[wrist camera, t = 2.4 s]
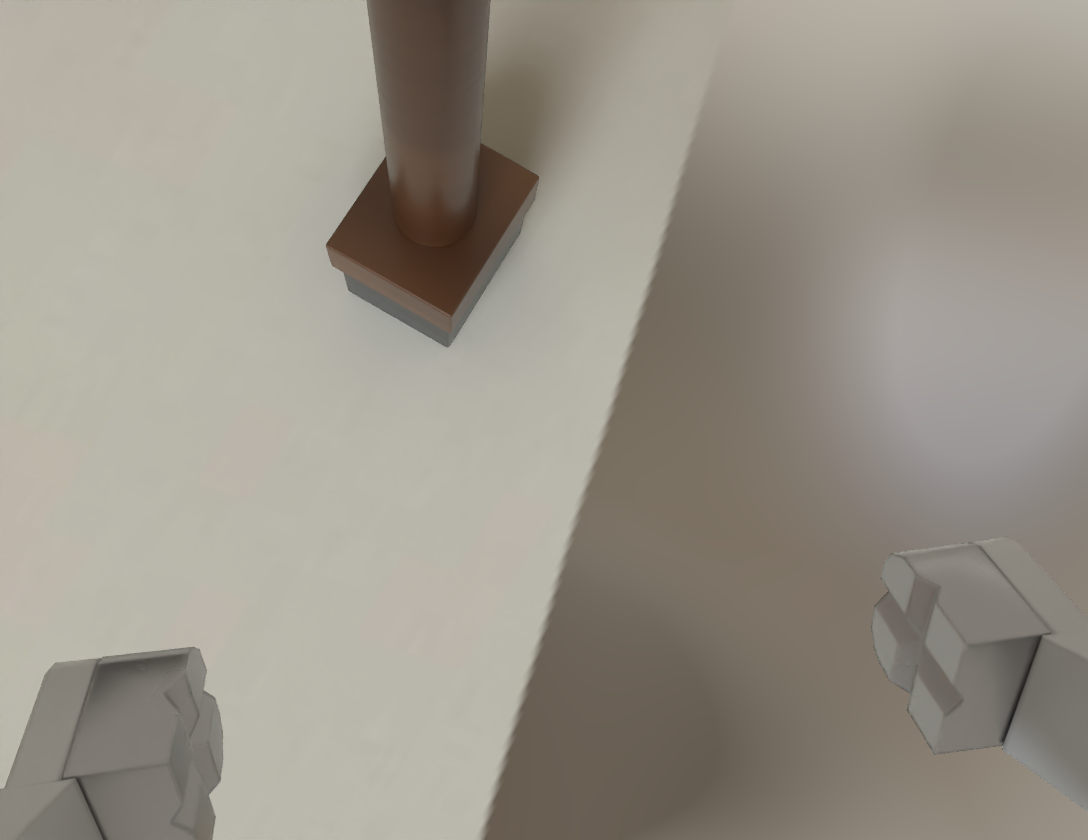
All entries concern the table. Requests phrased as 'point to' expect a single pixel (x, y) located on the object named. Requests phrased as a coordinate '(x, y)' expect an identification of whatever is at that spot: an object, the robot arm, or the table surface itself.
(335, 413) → the table surface
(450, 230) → the dish brush
